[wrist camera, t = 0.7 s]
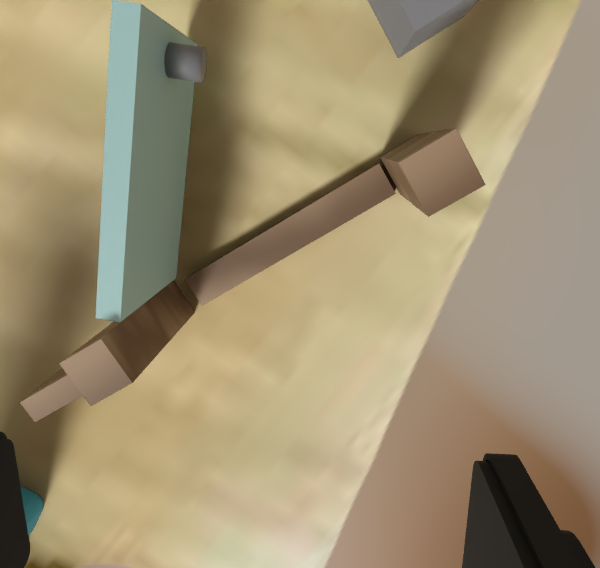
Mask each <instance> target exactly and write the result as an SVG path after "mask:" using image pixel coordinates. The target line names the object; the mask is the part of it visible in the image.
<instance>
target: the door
mask: <svg viewBox="0 0 600 568" xmlns="http://www.w3.org/2000/svg"><path fill="white" fill-rule="evenodd" d="M206 69H207V54H206V50H205V48H204V47H199V46H198V44H197V43H195V42H194V41H192V40H191V39H190V38H188V37H187V36H185V35H184V34H183V33H181V32H180V31H178V30H177V29H176V28H174V27H173V26H171V25H170V24H168V23H167V22H166V21H164V20H163V19H161V18H160V17H159V16H157V15H156V14H154V13H153V12H152V11H150V10H149V9H147V8H146V7H145V6H143V5H142V4H138V3H132V2H125V1H119V0H112V6H111V26H110V45H109V65H108V84H107V104H106V123H105V143H104V162H103V182H102V201H101V221H100V240H99V260H98V279H97V299H96V318H98V319H104V320H110V321H115V322H121V321H123V320H124V319H125V318H126V317H128V316H129V315H130V314H131V313H133V312H134V311H135V310H136V309H138V308H139V307H140V306H142V305H143V304H144V303H145V302H147V301H148V300H149V299H150V298H152V297H153V296H154V295H155V294H157V293H158V292H159V291H160V290H162V289H163V288H164V287H165V286H167V285H168V284H169V283H170V282H172V281H173V280H174V279H176V275H177V265H178V254H179V243H180V233H181V222H182V212H183V201H184V190H185V180H186V169H187V159H188V148H189V137H190V127H191V116H192V106H193V95H194V84H195V82H198V83H202V82H203V81H204V78H205V75H206Z"/></svg>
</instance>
